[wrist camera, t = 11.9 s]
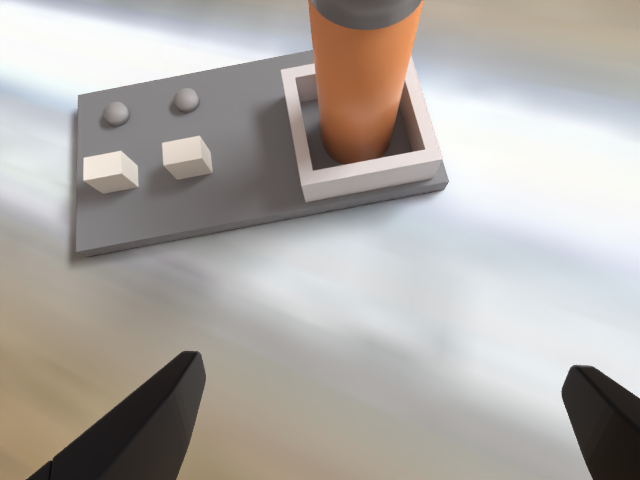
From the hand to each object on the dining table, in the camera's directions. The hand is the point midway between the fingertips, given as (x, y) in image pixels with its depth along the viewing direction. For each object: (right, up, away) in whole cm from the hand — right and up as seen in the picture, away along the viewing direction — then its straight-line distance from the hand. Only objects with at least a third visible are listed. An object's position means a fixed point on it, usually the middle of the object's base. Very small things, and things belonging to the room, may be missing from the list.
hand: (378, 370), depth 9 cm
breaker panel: (-6, +10, +18) cm, 21 cm away
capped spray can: (+1, +10, +16) cm, 19 cm away
